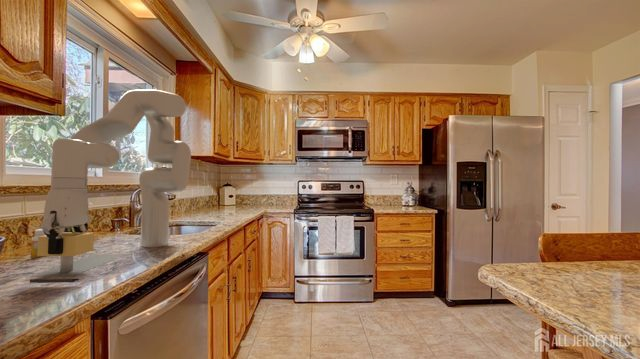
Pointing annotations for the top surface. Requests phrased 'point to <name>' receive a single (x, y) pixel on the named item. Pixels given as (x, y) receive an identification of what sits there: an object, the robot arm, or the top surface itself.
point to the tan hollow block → (68, 244)
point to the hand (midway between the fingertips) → (66, 250)
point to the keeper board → (74, 267)
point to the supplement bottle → (35, 242)
